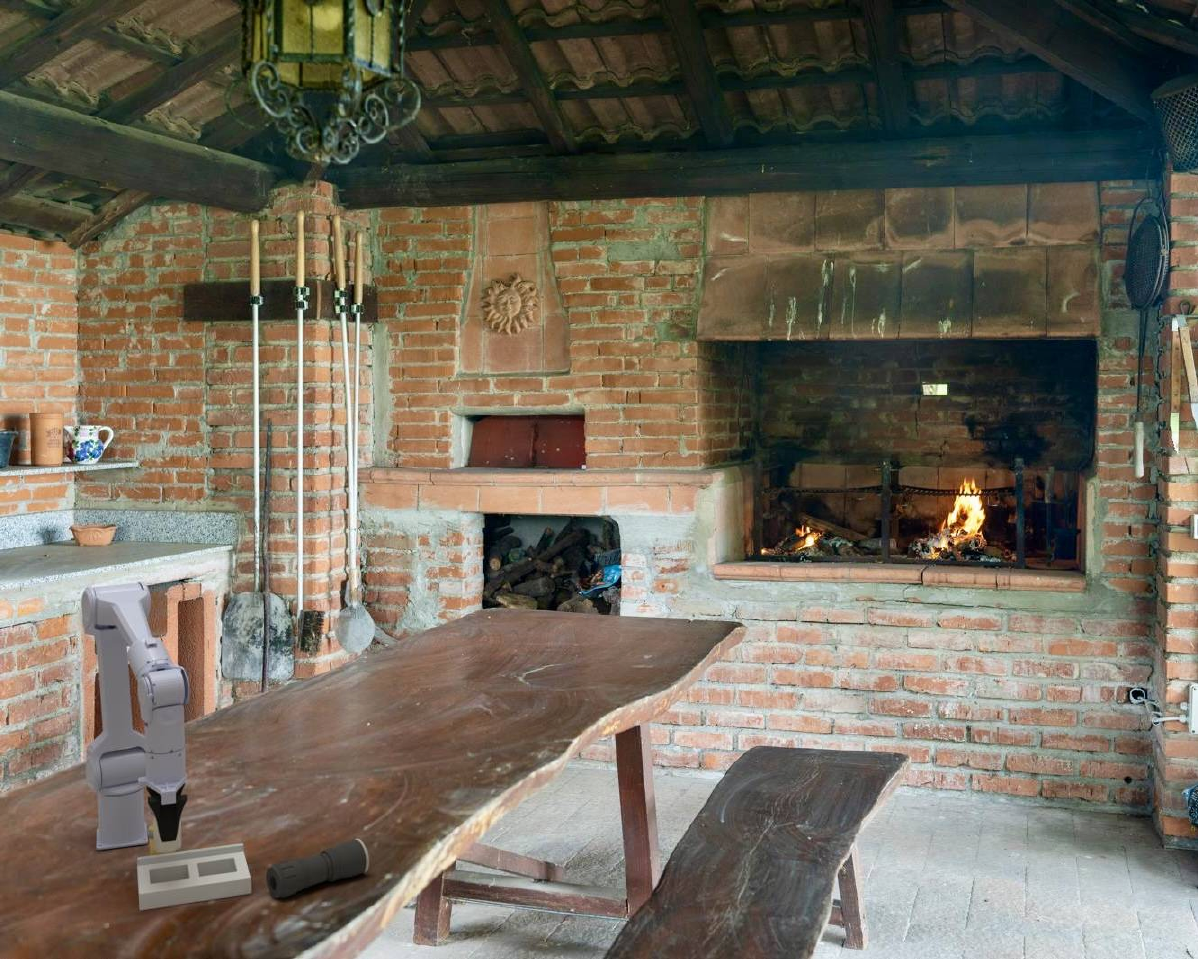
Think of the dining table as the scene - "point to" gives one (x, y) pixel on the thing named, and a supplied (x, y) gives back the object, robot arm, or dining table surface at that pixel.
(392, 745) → the dining table surface
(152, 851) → the yellow cylinder grey rim
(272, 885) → the flashlight
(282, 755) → the dining table surface
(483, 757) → the dining table surface
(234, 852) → the housing
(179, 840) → the cream grey-rimmed peg
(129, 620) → the robot arm
